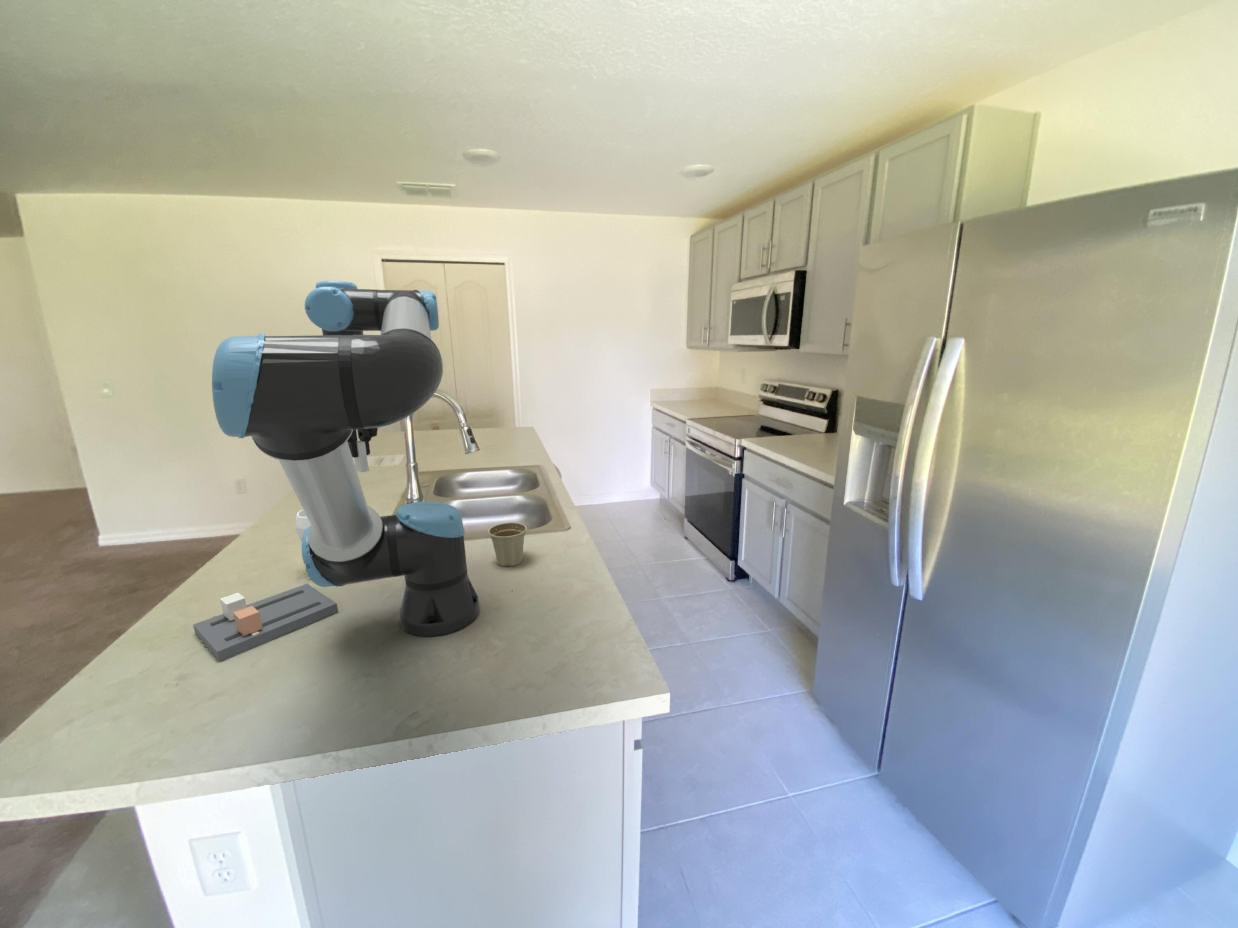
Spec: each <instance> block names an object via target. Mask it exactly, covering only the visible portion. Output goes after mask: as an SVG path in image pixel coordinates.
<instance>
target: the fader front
mask: <svg viewBox="0 0 1238 928" xmlns="http://www.w3.org/2000/svg"><path fill="white" fill-rule="evenodd" d="M233 615H234V620H235V624H236V629H237V630H238V631H239V632H240V633H241V634H242V635H243V636H245V635H248V634H251V633H253V632H256V631H258V630H261V629H263V628H262V623H261V618H260V613H259V611H258V610H256V609H255V608H254V607H253V606H250V607H247V608H244V609H242V610H239V611H236V612H233Z"/></svg>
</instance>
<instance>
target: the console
mask: <svg viewBox="0 0 1238 928" xmlns="http://www.w3.org/2000/svg"><path fill="white" fill-rule="evenodd" d="M246 606H247V607H250V606H253V607H254V608H255V609H256V610H258V611H259V613H260V618H261V623H262V628H263V629H261V630H258V631H256V632H253V633H251V634H248V635H245V636H243V635H242V634H241V633H240V632H239V631H238V630H237V629H236V624H235V620H231V621H229V620H228V619H227V618H226V617H225V616H224V615H223V613H221V614H218V615H216V616H212V617H211V618H208V619H205V620H202V621H199V622H196V623H194V624H192V626H193V631H194V634H195V635H196V636H197V638H199V640H200V641H201V642H202V644H203V645H204V646H205V647H206V648H207V649H208V650H209V652H211V654H212V655H213V657H215V658H216V659H217V661H218V662H219V663H221V662H222V661H225V660H227V659H229V658H232V657H235V656H237V655H239V654H242V653H244V652H246V651H248V650H251V649H253V648H256V647H259V646H261V645H263V644H265V643H268V642H270V641H273V640H275V639H277V638H280V637H283V636H284V635H287V634H290V633H292V632H295V631H297V630H298V629H301V628H303V627H306V626H308V625H311V624H313V623H315V622H318V621H320V620H323V619H326V618H328V617H331V616H333V615H334V614H337V613H339V609H338V603H337V602H336V601H334V600H332V599H331V598H329V597H328V596H326V594H324V593H322V592H321V591H319V590H318V589H316V588H314V586H311V585H310V584H309V583H305V584H302V585H300V586H296V587H294V588H290V589H289V590H286V591H283V592H280V593H277V594H274V595H271V596H269V597H265V598H263V599H260V600H258V601H255V602H252V603H249V604H246Z"/></svg>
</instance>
